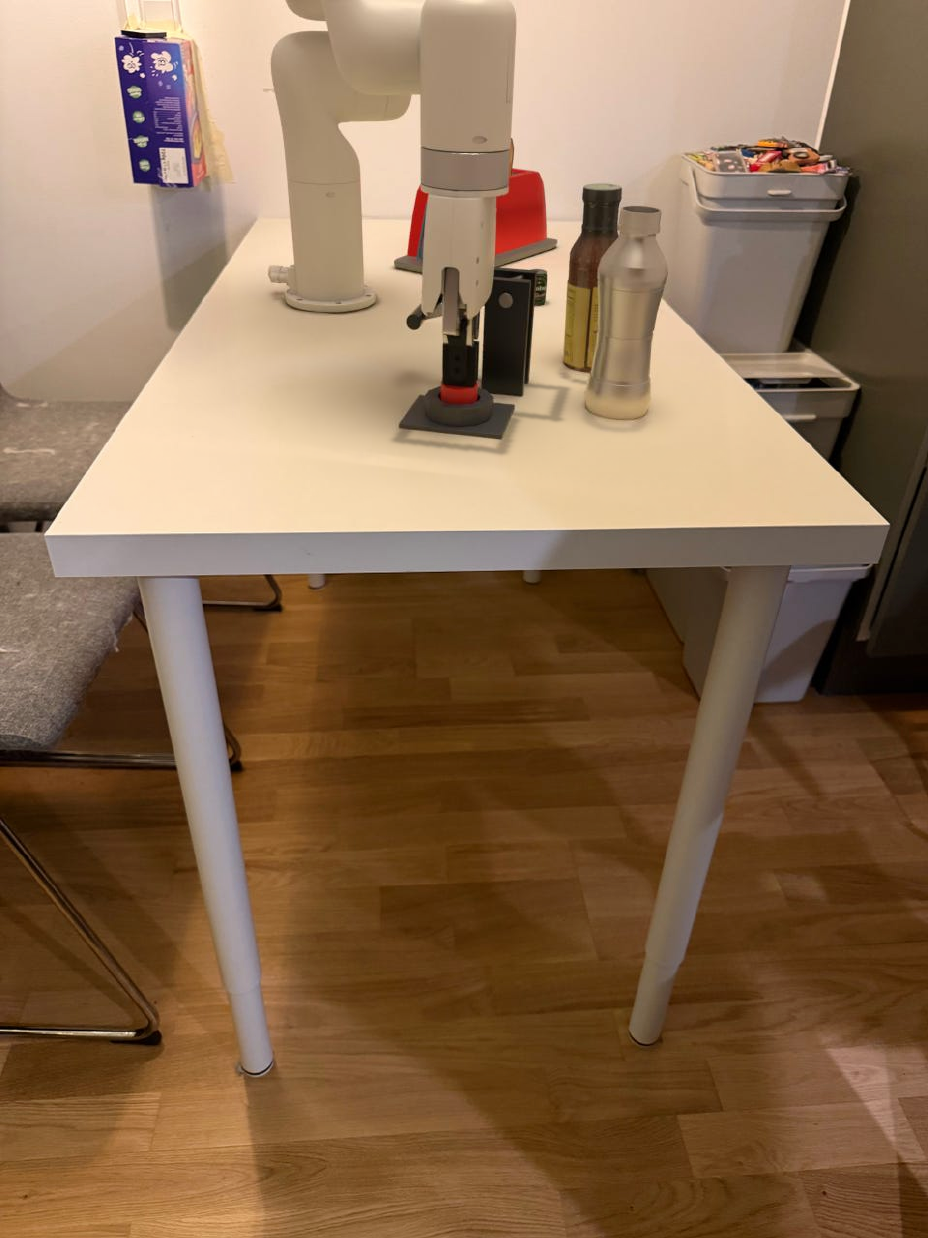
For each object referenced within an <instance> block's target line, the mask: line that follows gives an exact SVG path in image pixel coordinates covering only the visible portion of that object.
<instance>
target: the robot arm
mask: <svg viewBox="0 0 928 1238" xmlns="http://www.w3.org/2000/svg"><path fill="white" fill-rule="evenodd" d="M285 2H286V3H285V4H286V5H287V7H288V9H289V10H290V11H291V12H292V14H294V15H296V16H298V18H302V19H304V20H308V21H315V22H325V24H326V29H327V30H304V31H303V30H302V31H296V32H291V33H288V34H286V35H284V36H282V37H281V38H280V39H279V40H278V41H277V42H276V43H275V45H274V46H273V48H272V51H271V55H270V75H271V80H272V81H271V82H272V86H273V90H274V96H275V101H276V105H277V110H278V114H279V118H280V119H279V120H280V126H281V132H282V139H283V148H284V158H285V168H286V169H285V171H286V179H287V192H288V194H287V195H288V204H289V205H288V206H289V217H290V231H291V232H290V233H291V243H292V255H293V257H292V258H293V264H290V265H289V266H283V265H275V264H269V266H268V269H267V275H268V279H269V281H270V283H274V284H286V286H288V288H287V290H286V291H285V292H284V297H285V302H286V303H287V304H288V305H289V306H290V307H293V308H295V309H298V310H302V311H306V312H307V311H308V312H314V313H346V312H352V311H357V310H362V309H366V308H369V307H370V306H372V305H373V304H374V303H375V302H376V300H377V293H376V290H374V289H373V288H372V287H370V286H368V285H366V284H365V267H364V266H365V265H364V242H363V241H364V238H363V237H364V236H363V211H362V210H363V209H362V208H363V207H362V184H361V182H362V181H361V180H362V179H361V165H360V159H359V157H358V154H357V152H356V150H355V148H354V147H353V146H352V145H351V143H350V142H349V140H348V139H347V138H346V136H345V135H344V134H343V132H342V131H341V129H340V127H339V124H340V123H349V122H388V121H395V120H397V119H400V118H402V117H403V116H404V115H405V114H406V113H407V112H408V109H409V107H410V104H411V101H412V95H415V96H417V95H419V96H420V97H419V99H420V103H419V104H420V107H419V109H420V111H419V112H420V115H419V116H420V118H419V121H420V125H419V127H420V128H419V129H420V133H419V134H420V184H421V191H423V192H425V193H428V194H429V195H428V201H427V209H426V219H425V231H424V248H423V273H421V277H422V278H421V281H422V282H421V300H420V301H421V302H420V303H421V309H422V312H423V313H424V314H425V315H426V316H430V315H431V314H432V313H433V312H434V311H435V310H436V309H437V308H438V307H439V305H440V304H442V316H441V318H442V320H441V321H442V327H441V328H442V331H441V332H442V345H441V347H442V348H441V350H442V352H441V353H442V354H441V355H442V356H441V357H442V359H441V360H442V361H441V381H442V382H443V384H444V385H451V386H461V387H471V388H472V387H474V385H475V384H476V382H478V381H479V365H480V364H479V362H480V341H479V340H478V339H479V336H480V323H481V310H482V309H483V308H484V307H485V306H484V304H485V303H486V302H487V300H488V298H489V297H490V294H491V291H492V285H493V275H494V268H495V267H494V259H495V232H496V196H501V195H505V194H507V193H508V190H509V168H510V148H511V138H512V125H513V106H514V87H515V85H514V84H515V66H516V65H515V64H516V46H517V44H516V43H517V13H516V9H515V7H514V4H513V3H512V1H511V0H285Z"/></svg>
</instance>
